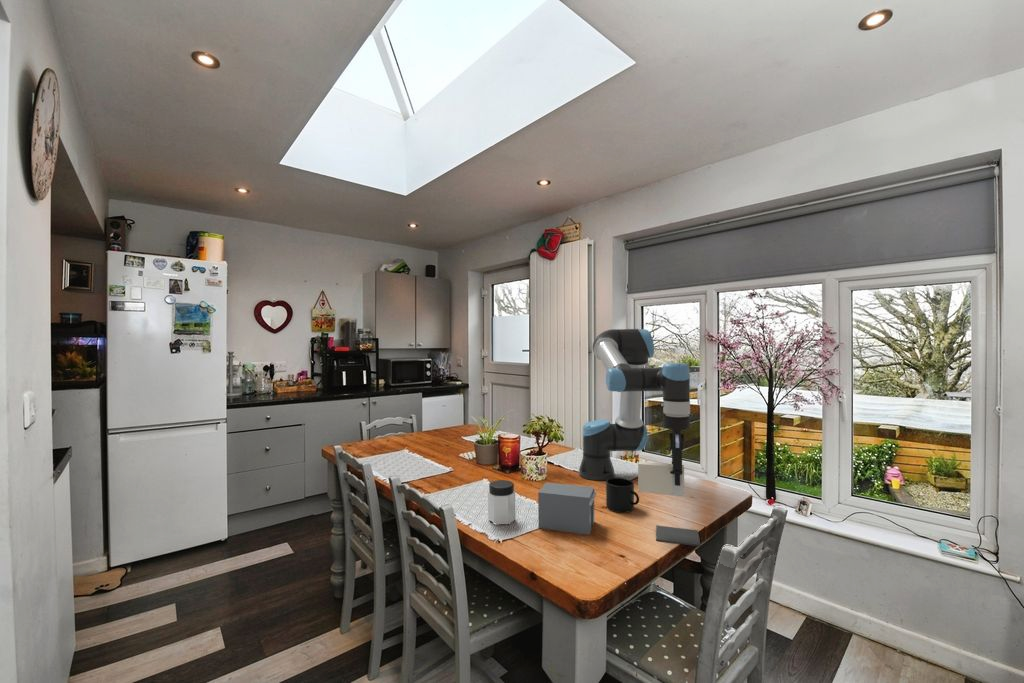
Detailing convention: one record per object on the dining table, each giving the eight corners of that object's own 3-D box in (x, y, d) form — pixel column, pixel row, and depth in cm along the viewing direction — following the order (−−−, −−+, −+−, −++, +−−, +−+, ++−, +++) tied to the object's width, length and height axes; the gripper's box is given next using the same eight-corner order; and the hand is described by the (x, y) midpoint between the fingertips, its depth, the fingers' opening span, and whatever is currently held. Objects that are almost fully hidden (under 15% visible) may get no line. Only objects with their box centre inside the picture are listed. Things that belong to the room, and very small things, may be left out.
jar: (515, 515, 146) (515, 479, 146) (515, 525, 138) (515, 487, 138) (489, 515, 146) (488, 479, 146) (487, 525, 138) (487, 488, 138)
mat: (656, 526, 136) (656, 525, 136) (697, 531, 132) (697, 530, 132) (656, 540, 127) (656, 539, 127) (700, 546, 123) (700, 545, 123)
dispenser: (546, 515, 146) (546, 482, 146) (596, 521, 140) (596, 487, 140) (538, 528, 136) (538, 492, 136) (591, 535, 131) (591, 498, 131)
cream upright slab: (638, 488, 135) (638, 461, 135) (683, 493, 130) (683, 465, 130) (638, 491, 132) (638, 463, 132) (684, 496, 127) (684, 467, 127)
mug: (632, 517, 144) (631, 490, 144) (601, 507, 152) (600, 482, 152) (645, 509, 150) (645, 483, 150) (615, 500, 159) (615, 476, 159)
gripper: (662, 410, 138) (663, 483, 138) (663, 418, 123) (664, 501, 123) (688, 411, 136) (689, 486, 136) (691, 420, 121) (692, 504, 121)
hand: (677, 493), depth 130 cm, fingers closed on cream upright slab, 3 cm apart
